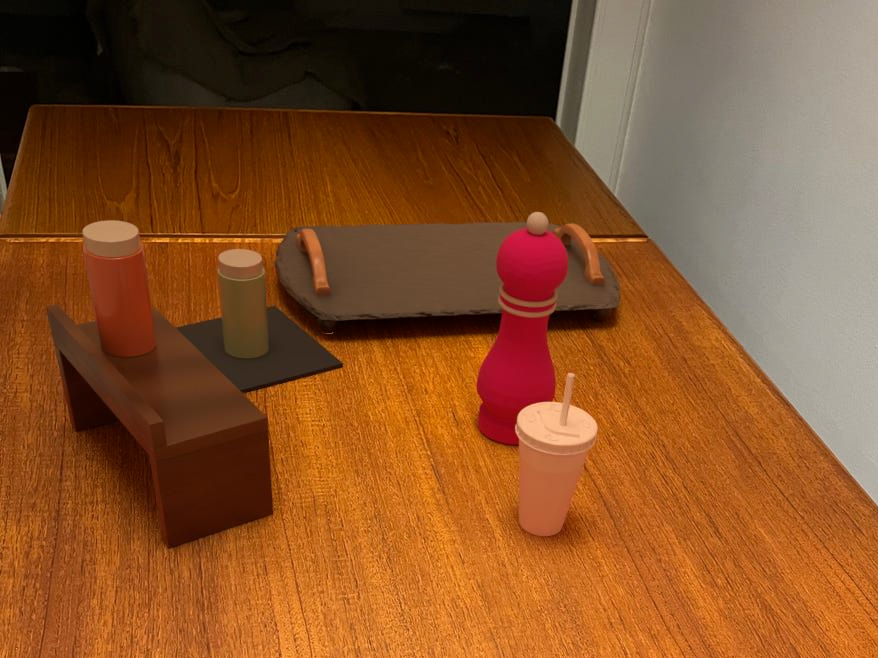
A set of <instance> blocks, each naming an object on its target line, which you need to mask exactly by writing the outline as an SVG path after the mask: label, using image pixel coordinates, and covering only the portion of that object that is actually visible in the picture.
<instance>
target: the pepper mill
mask: <svg viewBox="0 0 878 658" xmlns="http://www.w3.org/2000/svg"><path fill="white" fill-rule="evenodd" d="M526 222H527V224H526V225H527V228H525V229H520V230H518V231H515V232H513V233H512V234H510V235H509V236H507V237H506V239H505V240H504V241H503V242H502V244H501V246H500V248H499V251H498V254H497V260H496V268H497V273H498V275H499V277H500V279H501V280H502V282H503V283H502V284H501V286H500V288H499V292H500V295H499V297H498V303H499V305H500V306H501V308H502V313H501V319H500V324H499V330H498V333H497V336H496V339H495V341H494V343H493V344H492V346H491V347H490V349H489V351H488V353H487V354H486V356H485V358H484V359H483V361H482V363H481V365H480V368H479V370H478V375H477V380H476V392H477V394H478V398H479V399H480V400H481V404H480V405H479V410H478V417H477V418H478V419H477V425H478V429H479V430H480V432H481V433H482V434H483V435H484V436H485V437H487V438H488V439H490V440H492V441H494V442H497V443H499V444H503V445H511V446H519V438H518V436H517V434H516V431H515V426H516V423H517V417H518V414H519V413H520V411H521V410H523V409H524V408H525V407H527V406H529V405H532V404H535V403H541V402H554V398H555V396H556V387H557V379H556V372H555V366H554V364H553V360H552V359H553V358H552V356H551V352H550V347H549V344H548V325H549V324H548V323H549V319H550V316H551V314H553V313H554V312H555V311H554V310H555V309H556V303H555V302H556V300H557V297H558V294H557V291H556V290H555V289H556V288H557V287H558V286H560V285H561V283H562V282H563V281H564V279H565V277H566V274H567V270H568V254H567V251H566V248H565V246H564V245H563V243H562V241H561V240H560V239H559V238H558V237H557V236H556V235H554V234H552V233H551V232H548V231H546V230H547V228H548V223H549V220H548V217H547V215H546V214H545V213H544V212H541V211H534V212H532V213H531V214H530V215H529V216H528V218H527V220H526Z"/></svg>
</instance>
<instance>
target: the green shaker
mask: <svg viewBox="0 0 878 658" xmlns="http://www.w3.org/2000/svg"><path fill="white" fill-rule="evenodd" d="M217 260H218V266H217V270H216V272H217V284H218V295H219V307H220V317H221V319H222V330H223V342H224V350H225V351H226V353H228V354H229V355H231V356H233V357H237V358H242V359H251V358H257V357H261V356H263V355H265V354H266V353H267V352H268V350H269V335H268V317H267V307H268V302H267V301H268V300H267V286H266V285H267V283H266V269H265V268H264V266H263V257H262V255H261V254H260V253H259V252H257V251H255V250H252V249H246V248H233V249H228V250H224V251H222V252H221V253H220V254H219V255H218V257H217Z"/></svg>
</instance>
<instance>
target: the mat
mask: <svg viewBox="0 0 878 658" xmlns="http://www.w3.org/2000/svg"><path fill="white" fill-rule="evenodd" d="M267 317H268V335H269V350H268V352H267V353H266V354H265V355H263V356H261V357H257V358H251V359H242V358H237V357H233V356H231V355H229V354H228V353H226V351H225V350H224V342H223V330H222V319H221V316H220V317H217V318H212V319H208V320H202V321H197V322H194V323H189V324H184V325H181V326H180V325H179V326H174V327H175V328H176V329H177V330H178V331H179V332H180V333H181V334H182V335H184V336H185V337H186V338H187V339H188V340H189V341H190V342H191V343H192V344H193V345H194V346H195V347H196V348H197V349H198V350H199V351H200V352H201V353H202V354H203V355H204V356H205V357H206V358H207V359H208V360H209V361H210V362H211V363H212V364H213V365H214V366H215V367H216V368H217V369H218V370H219V371H220V372H221V373H222V374H224V375H225V376H226V377H227V378H228V379H229V380H230V381H231V382H232V383H233V384H234V385H235V386H236V387H237V388H238V389H239V390H240V391H241V392H242V393H243V394H245V393H249V392H252V391H256V390H260V389H263V388H267V387H272V386H275V385H279V384H284V383H287V382H291V381H294V380H298V379H302V378H305V376H306V377H309V376H312V374H313V375H317V374H320V372H321V373H323V372H324V371H325V372H328V371H333V370H335V369H340V368H343V367H344V363H343V362H342V361H341V360H340V359H339V358H337V357H336V356H335V355H334V354H333V353H332V352H330V351H329V350H328V349H327V348H326V347H324V346H323V344H321V343H320V342H318V340H316V339H315V338H314V337H313V336H311V334H309V333H308V332H306V330H304V329H303V328H302V327H301V326H300V325H298V324H297V323H296V322H295V321H294V320H292V319H291V318H290V317H289V316H287V314H286V313H284V312H283V311H282V310H280V309H279V308H278V307H277V306H276V305H272V306H271V305H270V306H267ZM325 372H324V373H325ZM316 373H317V374H316ZM308 375H309V376H308ZM301 377H302V378H301ZM297 378H298V379H297Z"/></svg>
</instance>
